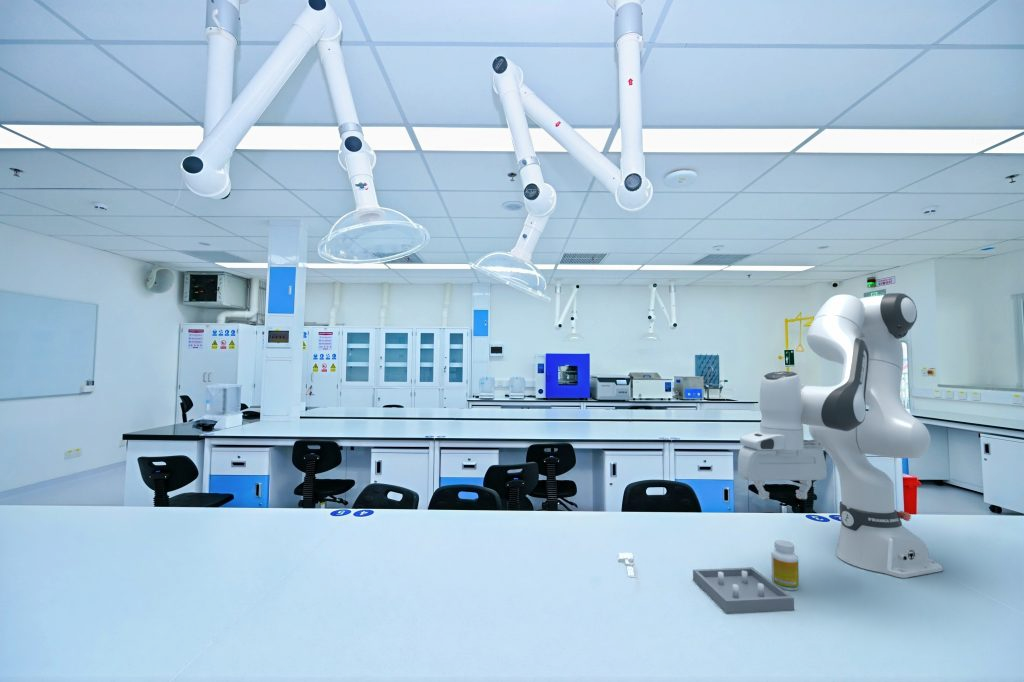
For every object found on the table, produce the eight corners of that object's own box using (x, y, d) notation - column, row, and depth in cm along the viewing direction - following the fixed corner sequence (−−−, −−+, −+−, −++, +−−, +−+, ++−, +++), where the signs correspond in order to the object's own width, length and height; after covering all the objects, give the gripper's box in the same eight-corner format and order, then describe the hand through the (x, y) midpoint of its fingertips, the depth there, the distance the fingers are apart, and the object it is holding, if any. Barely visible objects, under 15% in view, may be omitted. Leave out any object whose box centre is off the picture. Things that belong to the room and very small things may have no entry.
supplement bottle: (803, 592, 100) (802, 548, 101) (777, 589, 101) (776, 546, 102) (793, 580, 106) (792, 539, 106) (768, 578, 107) (767, 537, 107)
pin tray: (752, 577, 107) (752, 563, 107) (794, 610, 93) (793, 593, 93) (693, 580, 106) (692, 565, 106) (726, 613, 92) (726, 596, 92)
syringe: (649, 595, 99) (649, 588, 99) (628, 595, 100) (628, 587, 100) (633, 556, 119) (633, 550, 119) (615, 556, 120) (615, 550, 120)
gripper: (812, 437, 109) (813, 494, 108) (733, 437, 107) (734, 495, 107) (832, 441, 103) (834, 502, 102) (749, 442, 101) (750, 503, 100)
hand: (782, 498), depth 104 cm, fingers open, 8 cm apart
